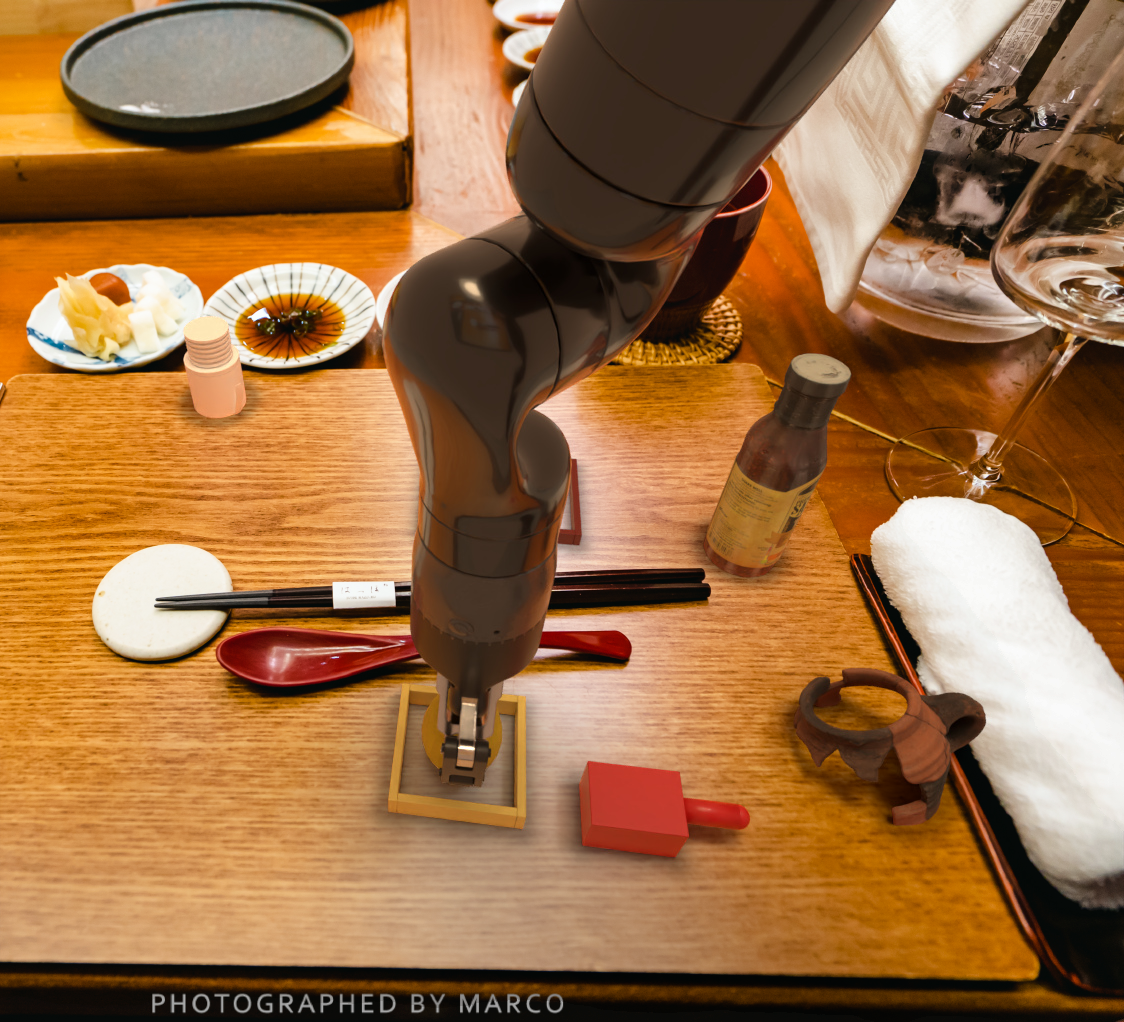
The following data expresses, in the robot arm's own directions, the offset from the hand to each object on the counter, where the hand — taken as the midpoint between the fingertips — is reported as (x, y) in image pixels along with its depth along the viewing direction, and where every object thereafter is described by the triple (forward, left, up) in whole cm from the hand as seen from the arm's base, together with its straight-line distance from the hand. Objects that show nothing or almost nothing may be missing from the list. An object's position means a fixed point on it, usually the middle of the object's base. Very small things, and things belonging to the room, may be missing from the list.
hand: (461, 735), depth 55 cm
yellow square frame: (0, 0, -4) cm, 4 cm away
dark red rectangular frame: (-3, -27, -4) cm, 27 cm away
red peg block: (-14, +3, -4) cm, 15 cm away
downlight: (+28, -39, -4) cm, 48 cm away
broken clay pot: (-30, -4, -4) cm, 30 cm away
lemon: (0, 0, -4) cm, 4 cm away
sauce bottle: (-24, -23, -4) cm, 33 cm away
